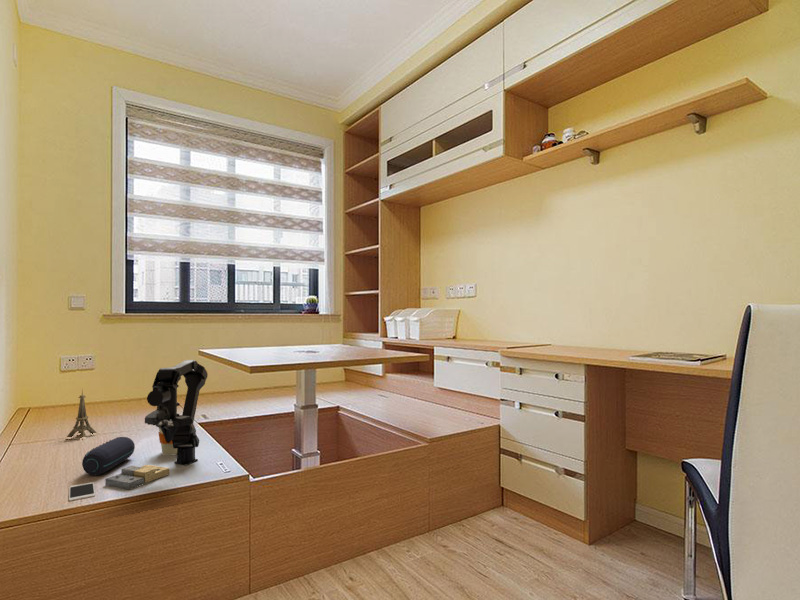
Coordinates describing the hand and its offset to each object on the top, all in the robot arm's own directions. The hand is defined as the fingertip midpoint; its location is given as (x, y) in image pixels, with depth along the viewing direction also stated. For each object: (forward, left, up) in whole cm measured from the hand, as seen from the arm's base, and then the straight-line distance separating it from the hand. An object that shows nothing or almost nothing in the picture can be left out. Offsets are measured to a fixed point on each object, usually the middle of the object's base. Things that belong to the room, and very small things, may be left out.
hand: (168, 442), depth 176 cm
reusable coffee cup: (-23, -23, -12) cm, 35 cm away
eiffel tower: (-27, -90, -12) cm, 95 cm away
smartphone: (+23, -14, -13) cm, 30 cm away
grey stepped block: (+11, -6, -12) cm, 17 cm away
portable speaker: (+2, -30, -12) cm, 33 cm away
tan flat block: (+5, -6, -12) cm, 14 cm away
